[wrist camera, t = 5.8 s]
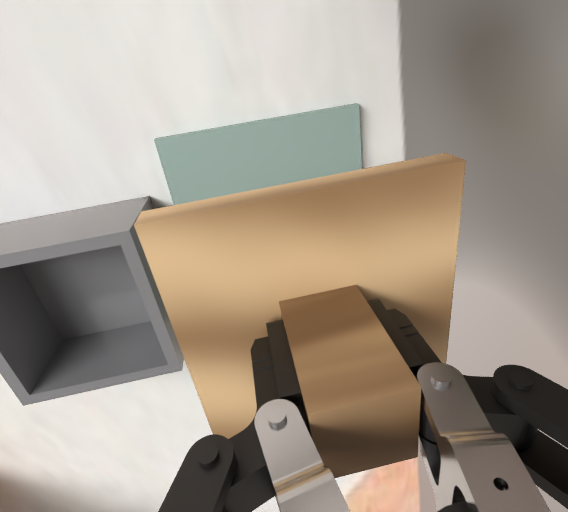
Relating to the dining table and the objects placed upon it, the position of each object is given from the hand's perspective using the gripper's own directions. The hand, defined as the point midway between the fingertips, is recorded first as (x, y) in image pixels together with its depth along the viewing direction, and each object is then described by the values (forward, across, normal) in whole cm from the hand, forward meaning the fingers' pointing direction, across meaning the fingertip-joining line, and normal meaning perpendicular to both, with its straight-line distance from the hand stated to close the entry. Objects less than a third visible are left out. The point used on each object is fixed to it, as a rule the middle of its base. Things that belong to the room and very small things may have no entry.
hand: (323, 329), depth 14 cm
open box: (+14, +13, +2) cm, 19 cm away
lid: (+2, 0, 0) cm, 2 cm away
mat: (+14, 0, 0) cm, 14 cm away
